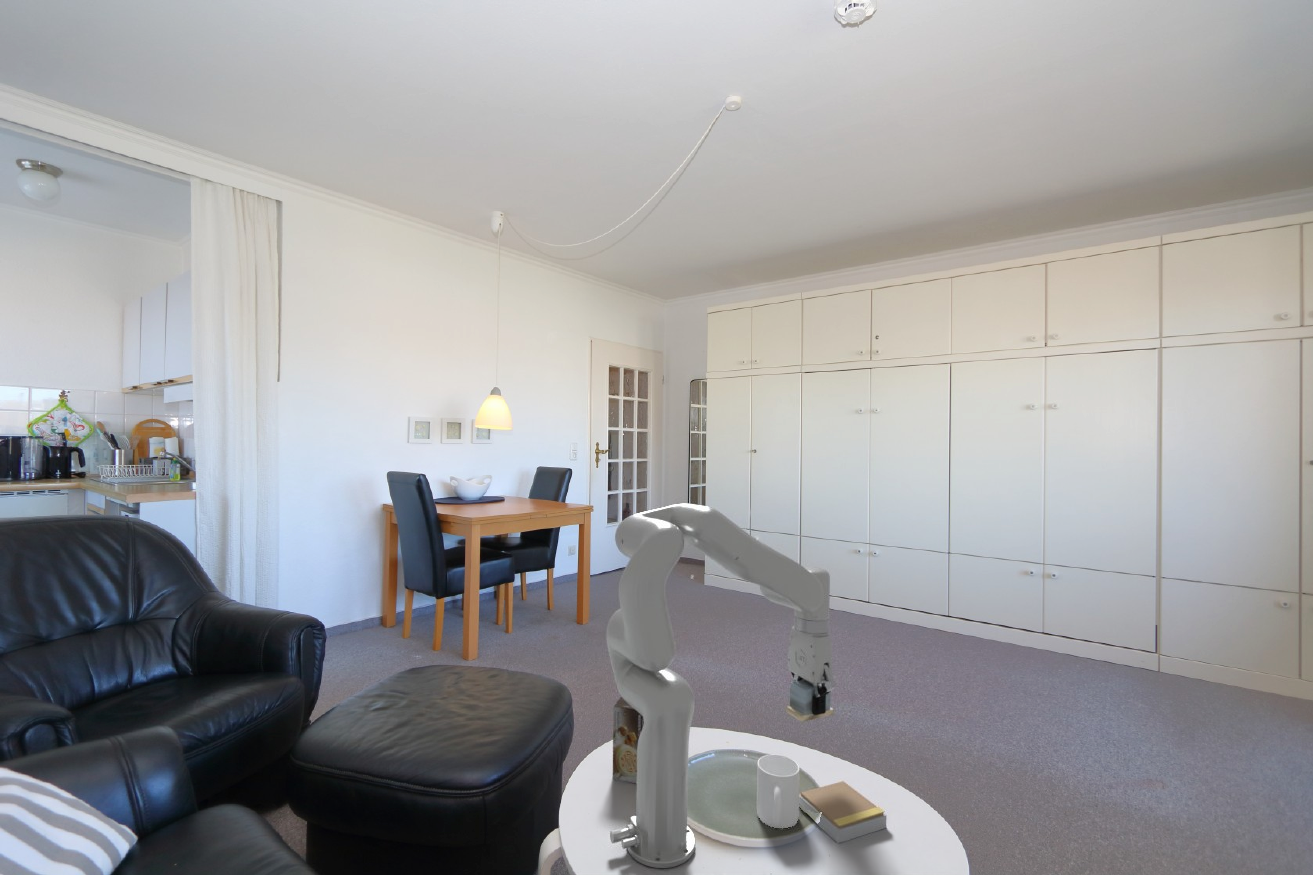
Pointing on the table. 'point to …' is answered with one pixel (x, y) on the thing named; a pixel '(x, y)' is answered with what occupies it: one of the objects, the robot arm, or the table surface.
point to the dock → (843, 811)
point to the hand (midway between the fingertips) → (809, 707)
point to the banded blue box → (805, 701)
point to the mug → (778, 791)
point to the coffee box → (625, 741)
